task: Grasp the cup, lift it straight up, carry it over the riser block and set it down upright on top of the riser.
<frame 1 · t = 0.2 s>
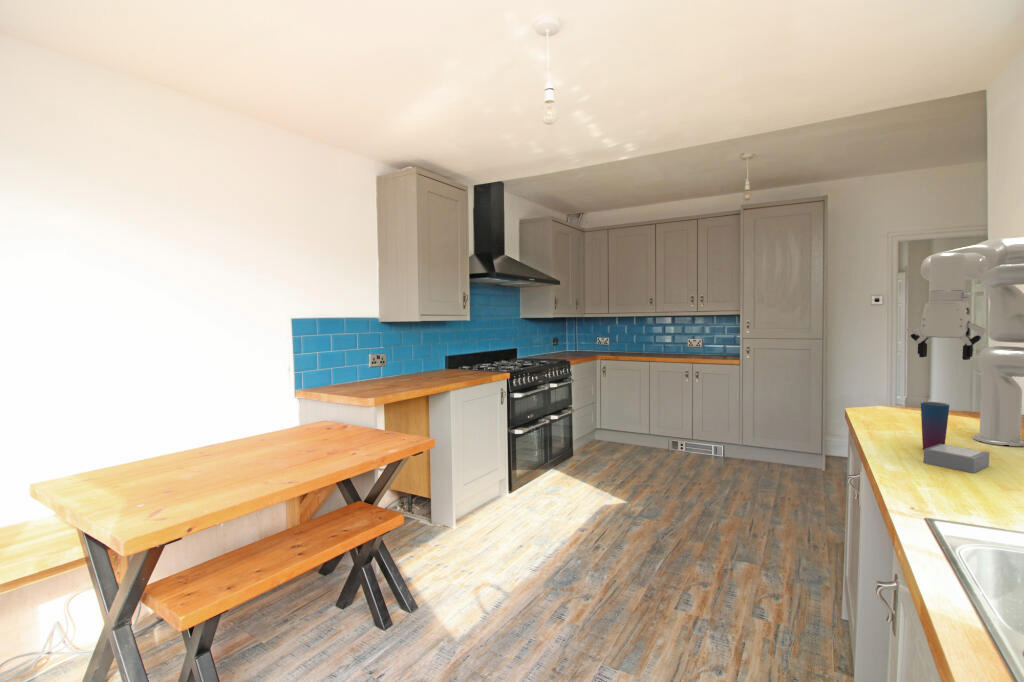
hand: (943, 358, 138), 31 cm above the countertop, fingers open, 9 cm apart
riser: (955, 464, 139), on the countertop
cup: (933, 451, 153), on the countertop
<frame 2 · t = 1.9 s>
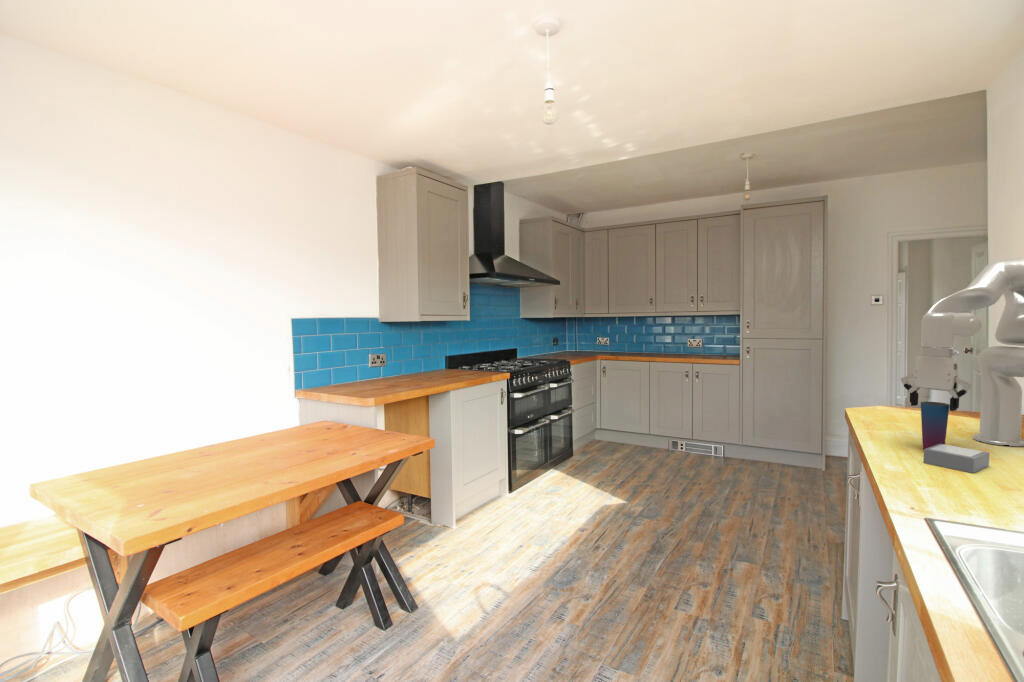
hand: (933, 407, 152), 14 cm above the countertop, fingers open, 9 cm apart
nothing on the countertop moved.
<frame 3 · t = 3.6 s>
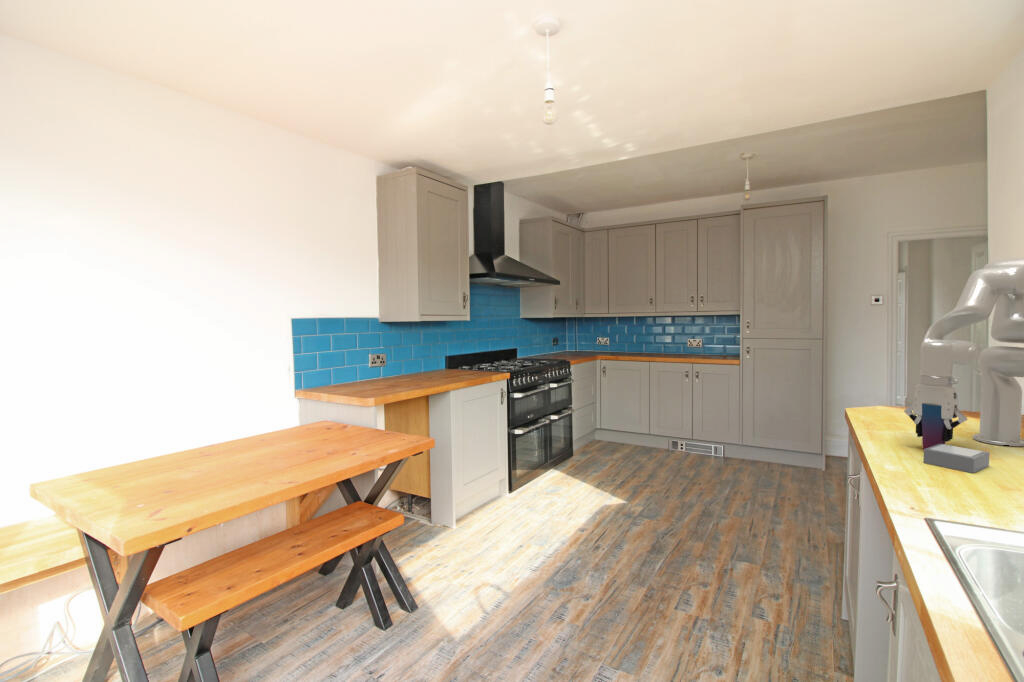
hand: (933, 438, 152), 4 cm above the countertop, fingers closed on cup, 6 cm apart
cup: (933, 451, 153), on the countertop, touching gripper
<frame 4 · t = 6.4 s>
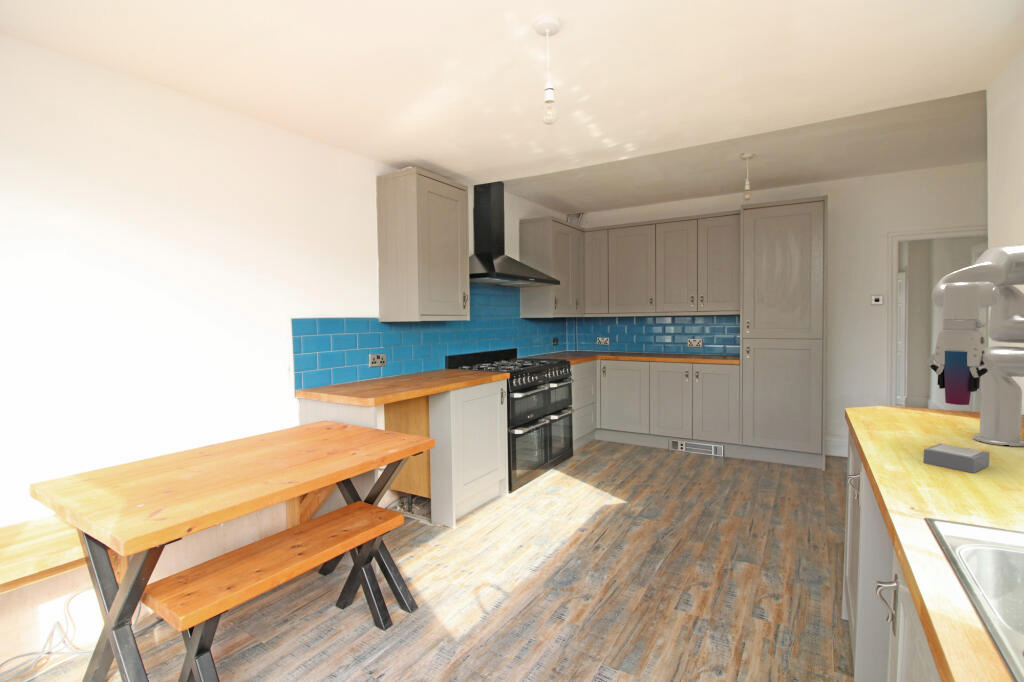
hand: (957, 389, 138), 22 cm above the countertop, fingers closed on cup, 6 cm apart
cup: (957, 404, 139), point 17 cm above the countertop, touching gripper
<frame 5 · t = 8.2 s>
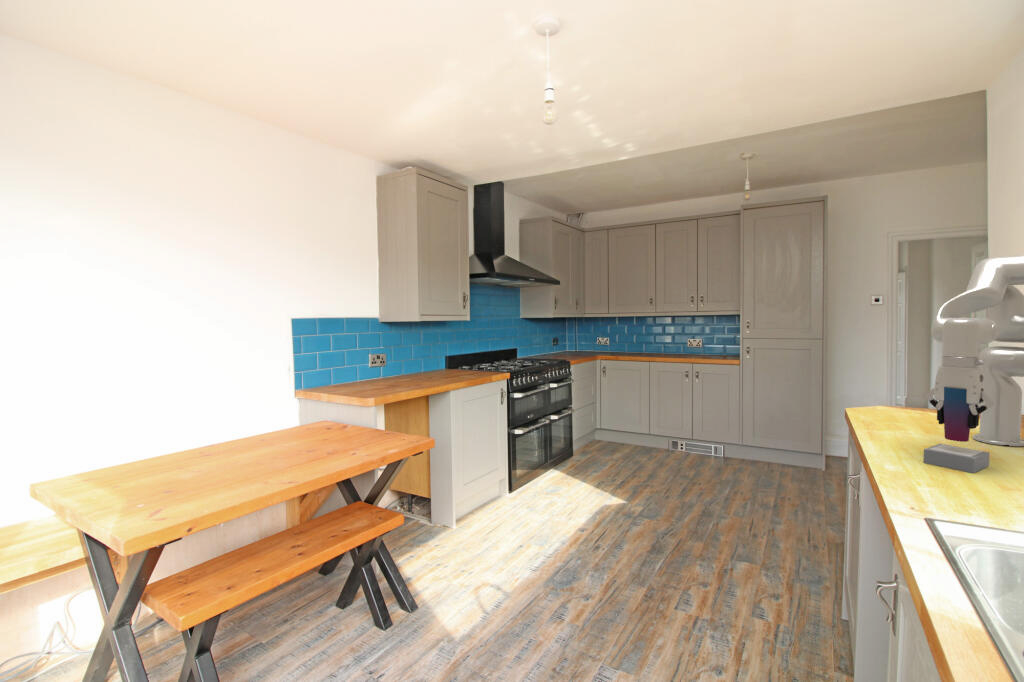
hand: (957, 425, 139), 11 cm above the countertop, fingers closed on cup, 6 cm apart
cup: (956, 440, 139), point 7 cm above the countertop, touching gripper
when the fingers open (9 cm above the countertop, at t = 9.5 s): cup drops 1 cm, resting on riser.
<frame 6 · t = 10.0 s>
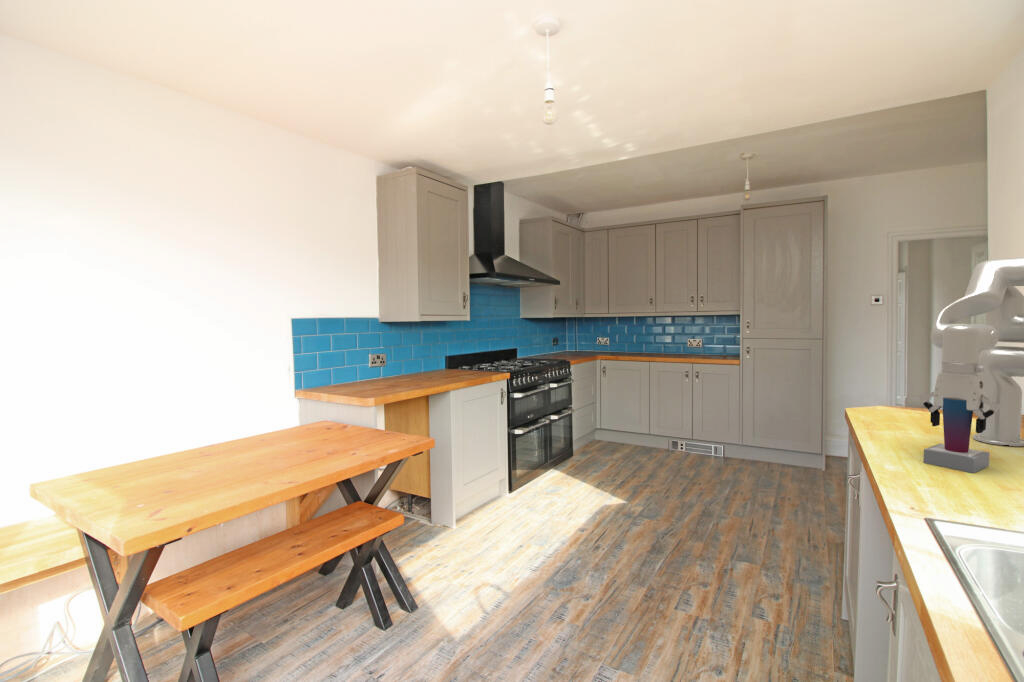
hand: (957, 428, 139), 10 cm above the countertop, fingers open, 9 cm apart
cup: (956, 450, 139), point 4 cm above the countertop, touching riser
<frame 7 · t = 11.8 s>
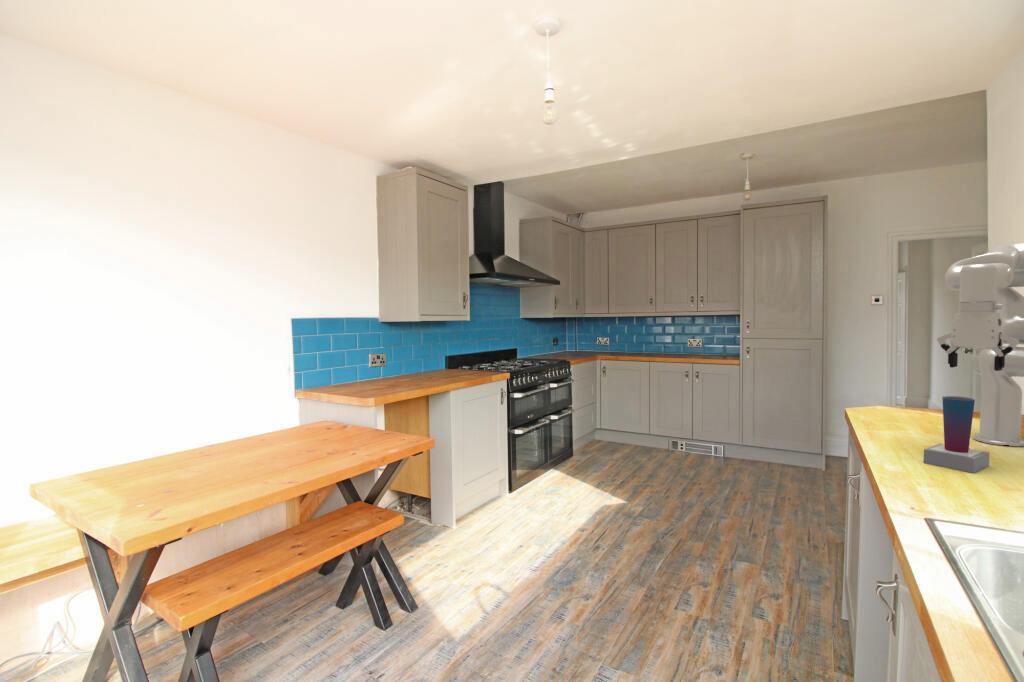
hand: (975, 368, 139), 27 cm above the countertop, fingers open, 9 cm apart
nothing on the countertop moved.
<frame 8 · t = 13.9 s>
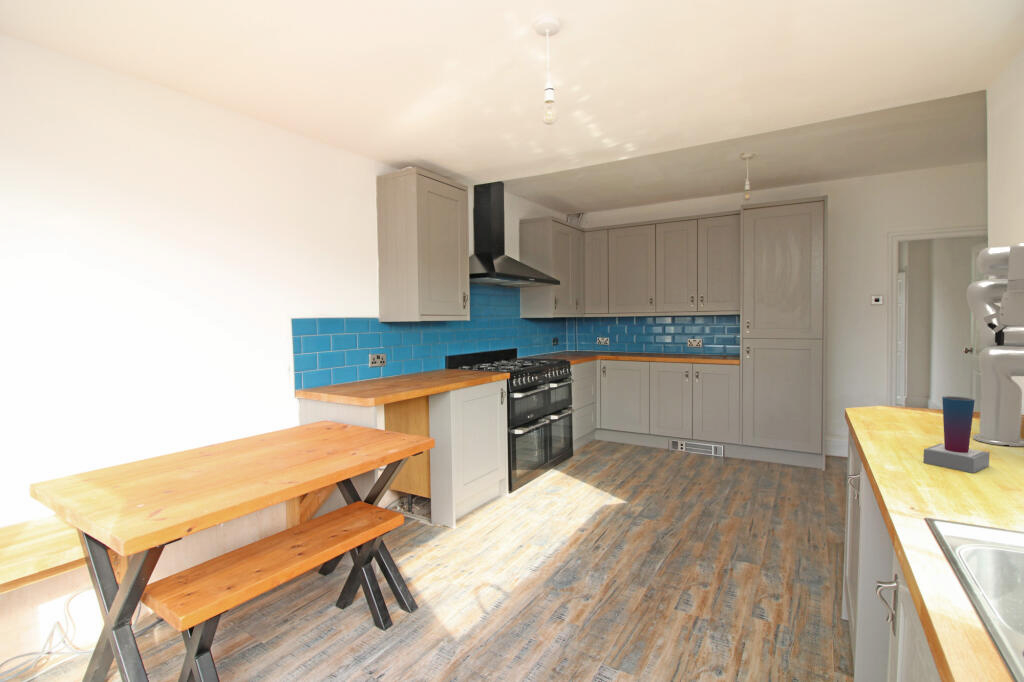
hand: (1023, 346, 140), 33 cm above the countertop, fingers open, 9 cm apart
nothing on the countertop moved.
at the end: cup inside the target area on the riser (0.2 cm from its centre), point 4.0 cm above the riser's base; cup tilted 0°; the gripper is holding nothing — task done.
